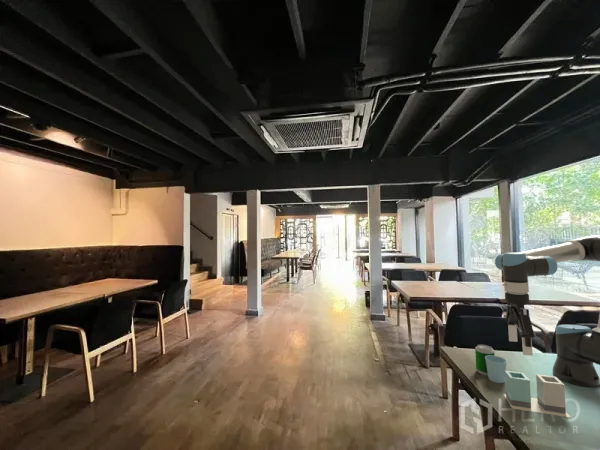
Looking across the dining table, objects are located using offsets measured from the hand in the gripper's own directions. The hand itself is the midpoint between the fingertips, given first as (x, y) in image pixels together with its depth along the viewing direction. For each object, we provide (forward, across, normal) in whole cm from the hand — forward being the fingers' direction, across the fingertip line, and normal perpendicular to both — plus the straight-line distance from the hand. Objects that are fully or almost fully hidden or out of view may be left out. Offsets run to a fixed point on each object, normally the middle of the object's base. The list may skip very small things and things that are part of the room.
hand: (520, 347), depth 111 cm
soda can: (+21, -23, -7) cm, 32 cm away
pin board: (+21, +3, +2) cm, 21 cm away
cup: (+21, -14, -5) cm, 26 cm away
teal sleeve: (+19, +3, -3) cm, 20 cm away
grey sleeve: (+20, +3, +7) cm, 21 cm away
